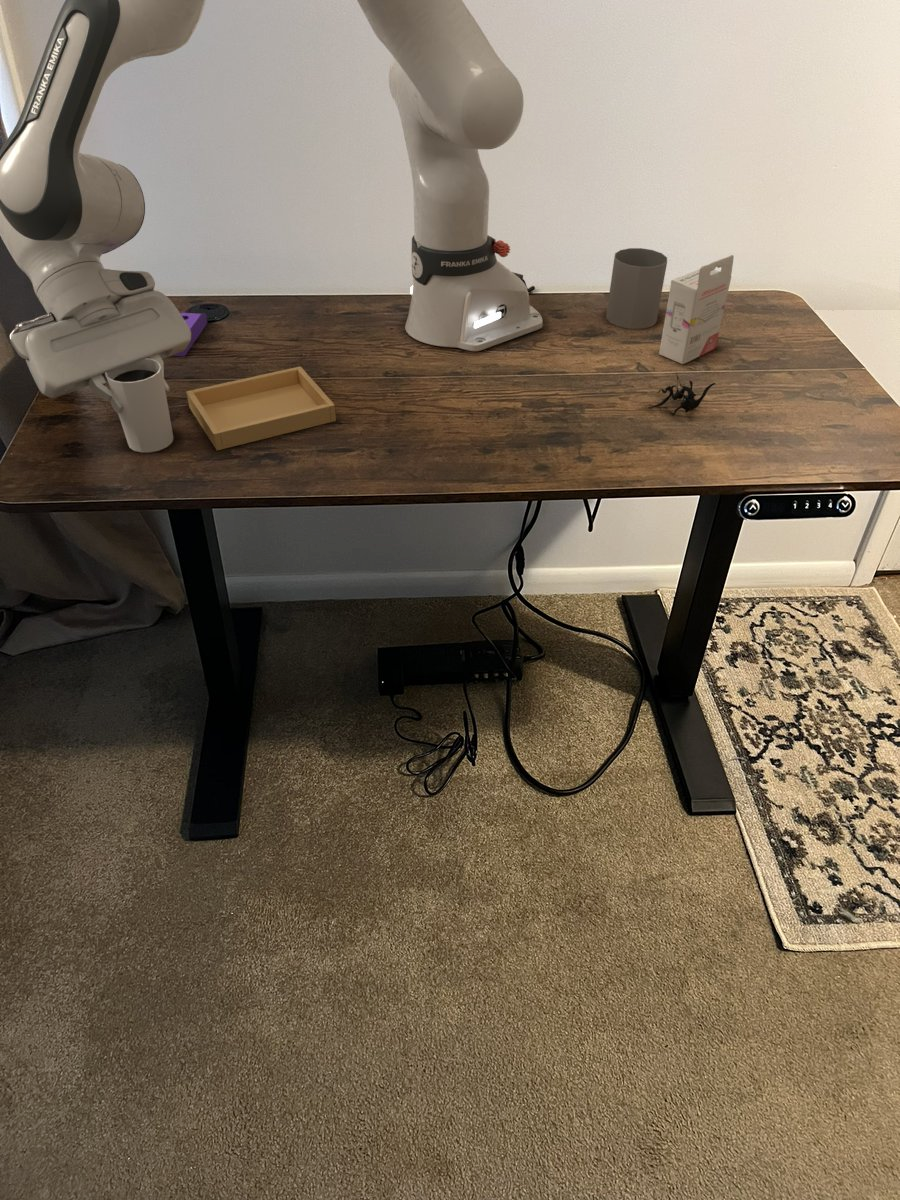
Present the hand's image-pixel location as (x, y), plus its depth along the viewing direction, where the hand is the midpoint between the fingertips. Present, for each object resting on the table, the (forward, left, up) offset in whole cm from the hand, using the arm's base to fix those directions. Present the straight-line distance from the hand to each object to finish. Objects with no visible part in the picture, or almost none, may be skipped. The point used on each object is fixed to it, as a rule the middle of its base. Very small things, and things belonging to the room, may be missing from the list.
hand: (144, 401), depth 108 cm
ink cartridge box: (-80, +11, -6) cm, 81 cm away
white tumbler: (0, -1, -6) cm, 6 cm away
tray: (-15, -1, -6) cm, 16 cm away
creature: (-67, +24, -6) cm, 71 cm away
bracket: (-11, -29, -6) cm, 32 cm away
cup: (-80, -3, -6) cm, 80 cm away
